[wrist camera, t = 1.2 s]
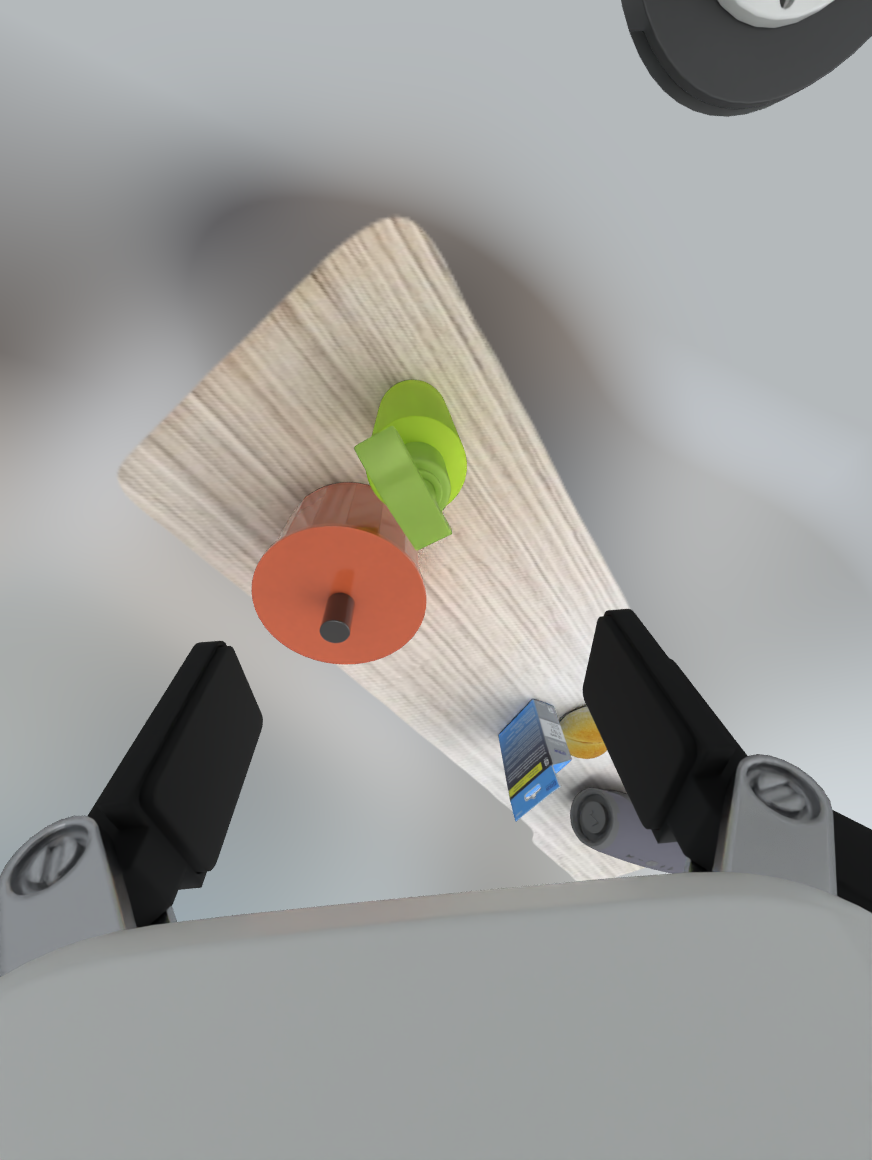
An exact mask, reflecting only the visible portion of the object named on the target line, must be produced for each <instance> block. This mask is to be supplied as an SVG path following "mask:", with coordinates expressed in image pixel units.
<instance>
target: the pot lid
mask: <svg viewBox="0 0 872 1160" xmlns="http://www.w3.org/2000/svg"><path fill="white" fill-rule="evenodd" d="M252 599H253V603H254V607H255V610H256V612H257V614H258V617H259V619H260V620H261V622H262V623H263V625H264V626H265V628H266V629H267V630H268V631H269V632H270V633H271V634H272V635H273V636H274V637H275V638H276V639H277V640H278V641H279V642H281V643H282V644H283V645H285V646H286V647H288V648H289V649H291V650H293V651H295V652H296V653H299V654H301V655H303V656H305V657H308V658H311V659H313V660H317V661H321V662H326V663H332V664H359V663H366V662H370V661H375V660H378V659H381V658H383V657H386V656H388V655H390V654H392V653H394V652H395V651H397V650H399V649H400V648H401V647H403V646H404V645H405V644H406V643H407V642H408V641H409V640H410V639H411V638H412V637H413V636H414V635H415V633H416V632H417V631H418V629H419V627H420V625H421V623H422V621H423V618H424V615H425V610H426V590H425V584H424V581H423V578H422V575H421V573H420V571H419V569H418V567H417V566H416V564H415V563H414V561H413V560H412V559H411V557H410V556H409V555H408V554H407V553H406V552H405V551H404V550H403V549H402V548H400V547H399V546H398V545H397V544H396V543H394V542H393V541H391V540H390V539H388V538H387V537H385V536H383V535H381V534H379V533H377V532H374V531H371V530H369V529H366V528H363V527H359V526H354V525H349V524H340V523H325V524H317V525H311V526H307V527H303V528H300V529H298V530H295V531H293V532H290V533H289V534H287V535H285V536H283V537H282V538H280V539H279V540H277V541H276V542H275V543H274V544H272V545H271V547H270V548H269V549H268V550H267V551H266V552H265V553H264V555H263V556H262V558H261V559H260V561H259V563H258V565H257V567H256V569H255V572H254V575H253V580H252Z"/></svg>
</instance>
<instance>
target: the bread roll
mask: <svg viewBox="0 0 872 1160" xmlns="http://www.w3.org/2000/svg"><path fill="white" fill-rule="evenodd" d="M560 726H561V729H562V732H563V735H564V738H565V740H566V743H567V746H568V749H569V752H570V755H572V756H574V757H577V758H583V759H590V758H595V757H598V756H600V755H602V754H603V753H605V752H606V751H607V748H606V746H605V744H604V742H603V740H602V737H601V735H600V733H599V731H598V729H597V727H596V724H595V722H594V720H593V718H592V716H591V714H590V711H589V709H588V707H587V706H586V707H582V708H580V709H577V710H575V711H573V712H571V713H569V714H567V715H566V716H565V717H564V718H563V719H562V720H561V722H560Z"/></svg>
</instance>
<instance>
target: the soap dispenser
mask: <svg viewBox="0 0 872 1160" xmlns="http://www.w3.org/2000/svg"><path fill="white" fill-rule="evenodd" d="M354 449H355V451H356V453H357V455H358V457H359V459H360V461H361V463H362V464H363V466H364V468H365V470H366V474H367V478H368V481H369V484H370V486H371V488H372V490H373V492H374V493H375V494H376V496H377V497H378V498H379V499H380V500H381V501H382V502H383V503H384V504H385V505H386V506H387V507H388V509H389V510H390V512H391V514H392V515H393V517H394V518H395V520H396V521H397V523H398V524H399V526H400V527H401V529H402V530H403V532H404V533H405V535H406V536H407V538H408V539H409V541H410V542H411V544H412V545H413V547H414V548H415V550H416V551H418V550H420V549H422V548H424V547H426V546H428V545H430V544H432V543H434V542H436V541H438V540H440V539H442V538H445V537H447V536H449V535H451V534H452V531H451V527H450V526H449V524H448V522H447V520H446V519H445V517H444V515H443V513H442V511H443V509H444V508H445V507H446V505H448V504H449V503H450V502H451V501H452V500H453V499H454V498H455V497H456V496H457V494H458V493H459V491H460V490H461V488H462V486H463V483H464V481H465V477H466V471H467V460H466V454H465V451H464V448H463V445H462V443H461V440H460V438H459V435H458V433H457V430H456V428H455V426H454V423H453V421H452V418H451V416H450V413H449V411H448V408H447V406H446V403H445V401H444V399H443V397H442V396H441V394H440V393H439V392H438V391H437V390H436V389H435V388H434V387H433V386H431V385H430V384H428V383H426V382H423V381H419V380H406V381H402V382H400V383H397V384H396V385H394V386H393V387H391V388H390V389H389V390H388V391H387V392H386V394H385V395H384V397H383V398H382V400H381V403H380V406H379V410H378V414H377V418H376V421H375V425H374V429H373V433H372V437H370V438H368V439H367V440H365V441H363V442H361V443H360V444H358V445H356V446H355V447H354Z"/></svg>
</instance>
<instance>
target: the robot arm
mask: <svg viewBox="0 0 872 1160" xmlns="http://www.w3.org/2000/svg"><path fill="white" fill-rule="evenodd" d="M833 1H834V0H718V2H719V3H720V5H721V6H722V7H723V8H724V9H725V10H726V11H728V12H729V13H730V14H731V15H732V16H733V17H735V18H736V19H737V20H739V21H742V22H744V23H747V24H749V25H752V26H754V27H767V28H777V27H781V26H785V25H789V24H793V23H797V22H799V21H801V20H803V19H805V18H807V17H809V16H811V15H813V14H815V13H817V12H819V11H820V10H822V9H823V8H824V7H826V6H827V5H828V4H830V3H831V2H833ZM583 697H584V700H585V703H586V705H587V707H588V709H589V711H590V714H591V716H592V718H593V720H594V722H595V724H596V727H597V729H598V731H599V733H600V735H601V737H602V740H603V742H604V744H605V746H606V748H607V750H608V753H609V755H610V757H611V759H612V761H613V763H614V765H615V768H616V770H617V772H618V774H619V776H620V778H621V781H622V783H623V785H624V787H625V789H626V791H627V794H628V796H629V798H630V800H631V802H632V804H633V807H634V809H635V811H636V813H637V815H638V817H639V819H640V821H641V823H642V825H643V826H644V828H646V829H651V830H652V832H653V835H654V837H655V839H656V841H657V843H658V844H660V843H671V842H678V844H679V846H680V848H681V850H682V852H683V854H684V855H685V856H686V861H685V865H684V870H683V873H675V874H662V875H648V876H635V877H621V878H608V879H598V880H587V881H576V882H566V883H555V884H545V885H533V886H523V887H512V888H501V889H490V890H480V891H470V892H460V893H449V894H439V895H430V896H419V897H409V898H399V899H389V900H380V901H368V902H358V903H349V904H338V905H329V906H319V907H309V908H300V909H290V910H281V911H271V912H261V913H251V914H241V915H232V916H224V917H216V918H207V919H200V920H192V921H183V922H177V920H176V917H175V914H174V911H173V908H172V904H173V902H174V899H175V897H176V894H177V892H178V890H181V889H190V888H200V887H202V884H203V881H204V879H205V876H206V873H207V871H211V870H212V869H213V868H214V866H215V864H216V862H217V859H218V857H219V854H220V851H221V848H222V845H223V842H224V839H225V836H226V833H227V830H228V827H229V824H230V821H231V818H232V815H233V812H234V809H235V806H236V803H237V801H238V798H239V794H240V792H241V789H242V786H243V783H244V780H245V777H246V774H247V771H248V768H249V765H250V762H251V759H252V756H253V753H254V750H255V747H256V744H257V741H258V738H259V735H260V733H261V729H262V723H263V718H262V714H261V711H260V709H259V707H258V705H257V702H256V700H255V698H254V695H253V693H252V690H251V688H250V686H249V683H248V681H247V679H246V677H245V674H244V672H243V670H242V667H241V665H240V663H239V660H238V658H237V656H236V653H235V651H234V649H233V647H231V646H227V645H226V643H225V642H223V641H214V642H201V643H197V644H196V645H195V646H194V647H193V648H192V650H191V652H190V653H189V655H188V656H187V658H186V660H185V661H184V663H183V665H182V666H181V667H180V669H179V671H178V672H177V674H176V676H175V677H174V679H173V680H172V682H171V684H170V685H169V687H168V688H167V690H166V692H165V693H164V695H163V696H162V698H161V700H160V701H159V703H158V704H157V706H156V707H155V709H154V711H153V712H152V713H151V715H150V717H149V719H148V720H147V722H146V723H145V725H144V726H143V728H142V730H141V731H140V733H139V734H138V736H137V738H136V739H135V741H134V742H133V744H132V746H131V747H130V749H129V750H128V752H127V754H126V755H125V757H124V758H123V760H122V762H121V763H120V765H119V766H118V768H117V770H116V771H115V773H114V774H113V776H112V778H111V779H110V781H109V783H108V784H107V786H106V787H105V789H104V790H103V792H102V794H101V795H100V797H99V799H98V800H97V802H96V803H95V805H94V806H93V808H92V810H91V811H90V813H89V814H88V816H72V817H68V818H65V819H61V820H59V821H57V822H55V823H53V824H51V825H49V826H47V827H45V828H44V829H42V830H41V831H39V832H38V833H37V834H35V835H34V836H32V837H31V838H30V839H29V840H28V841H27V842H26V843H24V844H23V845H22V846H21V847H20V848H19V849H18V850H17V851H16V852H15V854H14V855H13V856H12V858H11V859H10V860H9V861H8V863H7V864H6V865H5V867H4V869H3V871H2V873H1V875H0V1160H872V830H871V829H869V828H867V827H865V826H863V825H861V824H859V823H857V822H855V821H853V820H851V819H849V818H847V817H845V816H843V815H841V814H840V813H838V812H835V811H834V810H832V807H831V803H830V800H829V798H828V797H827V795H826V794H825V792H824V790H823V789H822V788H821V787H820V786H819V785H818V784H817V782H816V781H815V780H814V779H813V778H812V777H810V776H809V775H807V774H806V773H805V772H803V771H802V770H801V769H800V768H798V767H796V766H794V765H792V764H790V763H789V762H787V761H785V760H782V759H779V758H776V757H773V756H768V755H760V754H756V755H751V756H747V755H746V753H745V752H744V751H743V749H742V748H741V747H740V746H739V744H738V743H737V742H736V740H735V739H734V738H733V736H732V735H731V734H730V733H729V731H728V730H727V729H726V727H725V726H724V725H723V724H722V722H721V721H720V720H719V718H718V717H717V716H716V714H715V713H714V712H713V711H712V709H711V708H710V707H709V705H708V704H707V703H706V702H705V700H704V699H703V698H702V696H701V695H700V694H699V692H698V691H697V690H696V689H695V687H694V686H693V685H692V683H691V682H690V681H689V679H688V678H687V677H686V675H685V674H684V673H683V672H682V670H681V669H680V668H679V666H678V665H677V664H676V663H675V662H674V661H673V660H672V659H670V658H669V657H668V656H667V655H666V654H665V652H664V651H663V650H662V649H661V647H660V646H659V644H658V643H657V642H656V640H655V639H654V638H653V636H652V635H651V634H650V633H649V631H648V630H647V629H646V627H645V626H644V625H643V623H642V622H641V621H640V619H639V618H638V617H637V615H636V614H635V613H634V612H633V611H632V610H631V609H621V610H608V611H606V612H605V614H604V616H603V617H599V618H598V621H597V625H596V630H595V634H594V639H593V643H592V648H591V652H590V657H589V662H588V666H587V671H586V675H585V680H584V684H583Z"/></svg>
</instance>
